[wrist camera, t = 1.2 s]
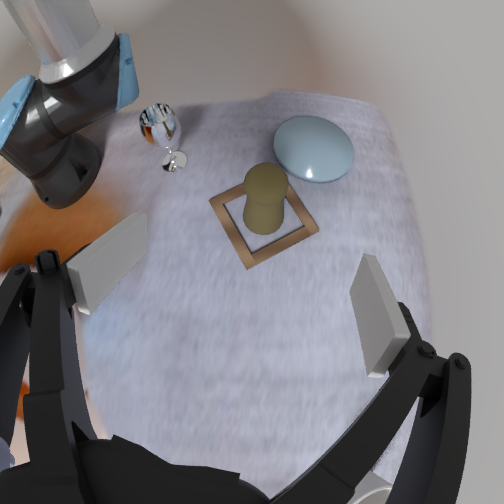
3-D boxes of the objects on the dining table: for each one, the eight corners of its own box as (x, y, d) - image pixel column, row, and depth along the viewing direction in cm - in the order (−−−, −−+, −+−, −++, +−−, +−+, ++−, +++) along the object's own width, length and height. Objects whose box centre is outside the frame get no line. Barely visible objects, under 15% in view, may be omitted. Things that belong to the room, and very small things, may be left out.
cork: (268, 191, 41) (273, 147, 31) (291, 221, 40) (304, 184, 29) (235, 210, 40) (229, 169, 30) (257, 242, 39) (259, 210, 28)
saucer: (258, 134, 44) (258, 130, 43) (321, 112, 46) (322, 108, 45) (302, 196, 41) (304, 192, 40) (367, 165, 43) (369, 162, 42)
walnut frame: (209, 201, 41) (208, 200, 40) (277, 169, 42) (277, 168, 42) (246, 269, 38) (246, 269, 37) (318, 231, 39) (319, 230, 39)
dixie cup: (321, 473, 29) (339, 506, 19) (371, 450, 30) (400, 475, 20) (334, 504, 27) (351, 537, 17) (380, 482, 28) (406, 509, 18)
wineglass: (157, 178, 42) (132, 133, 31) (160, 151, 44) (138, 104, 32) (190, 173, 42) (173, 125, 31) (191, 146, 44) (176, 97, 32)
